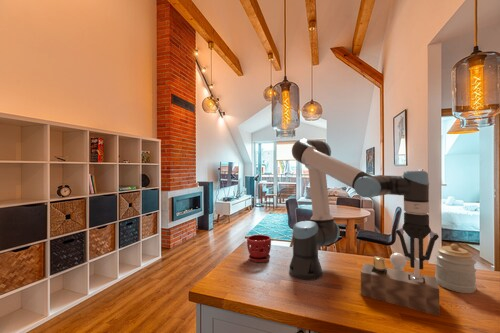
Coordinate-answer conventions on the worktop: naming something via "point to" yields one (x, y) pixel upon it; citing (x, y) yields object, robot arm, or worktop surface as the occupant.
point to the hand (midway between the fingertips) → (416, 277)
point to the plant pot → (259, 248)
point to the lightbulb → (398, 261)
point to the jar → (455, 269)
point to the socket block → (401, 289)
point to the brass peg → (379, 265)
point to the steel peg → (416, 279)
